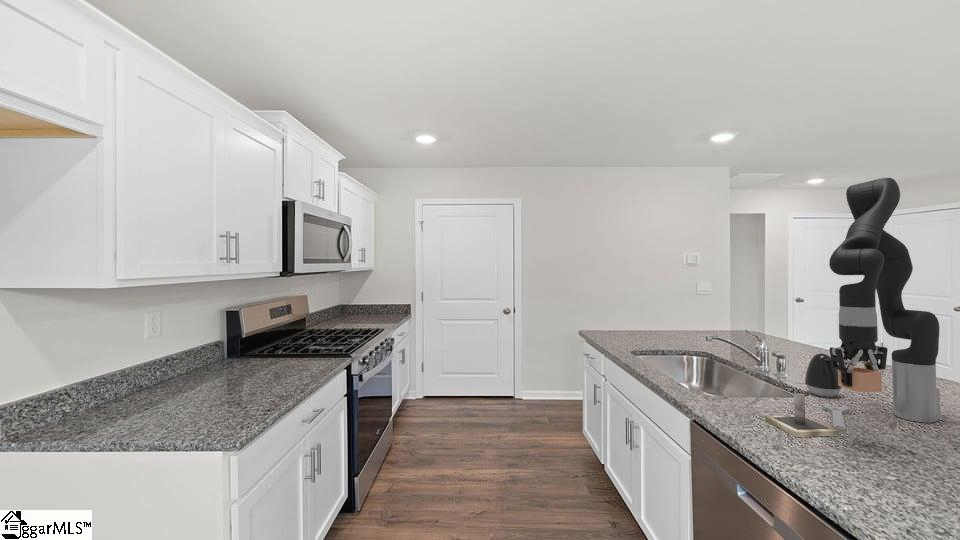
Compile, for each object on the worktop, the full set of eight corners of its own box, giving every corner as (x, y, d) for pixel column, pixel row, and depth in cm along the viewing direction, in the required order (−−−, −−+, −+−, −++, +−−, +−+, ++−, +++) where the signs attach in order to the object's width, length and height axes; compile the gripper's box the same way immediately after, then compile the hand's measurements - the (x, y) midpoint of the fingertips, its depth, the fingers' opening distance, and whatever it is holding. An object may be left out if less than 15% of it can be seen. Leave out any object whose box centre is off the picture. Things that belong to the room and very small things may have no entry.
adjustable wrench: (846, 435, 113) (846, 429, 113) (816, 429, 117) (816, 423, 117) (849, 410, 130) (849, 405, 130) (823, 406, 135) (823, 401, 135)
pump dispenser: (815, 398, 141) (814, 356, 141) (799, 390, 151) (798, 350, 151) (849, 400, 139) (848, 357, 139) (830, 391, 149) (829, 350, 149)
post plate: (803, 419, 123) (802, 387, 123) (838, 436, 111) (838, 400, 111) (765, 421, 123) (764, 388, 123) (796, 437, 111) (795, 401, 111)
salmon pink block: (859, 384, 110) (858, 366, 110) (881, 391, 104) (881, 372, 104) (838, 385, 109) (837, 367, 109) (859, 392, 103) (858, 373, 103)
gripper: (869, 320, 110) (871, 380, 110) (819, 322, 110) (820, 382, 110) (898, 324, 103) (900, 389, 103) (844, 326, 103) (846, 391, 103)
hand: (859, 385), depth 106 cm, fingers closed on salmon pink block, 6 cm apart
